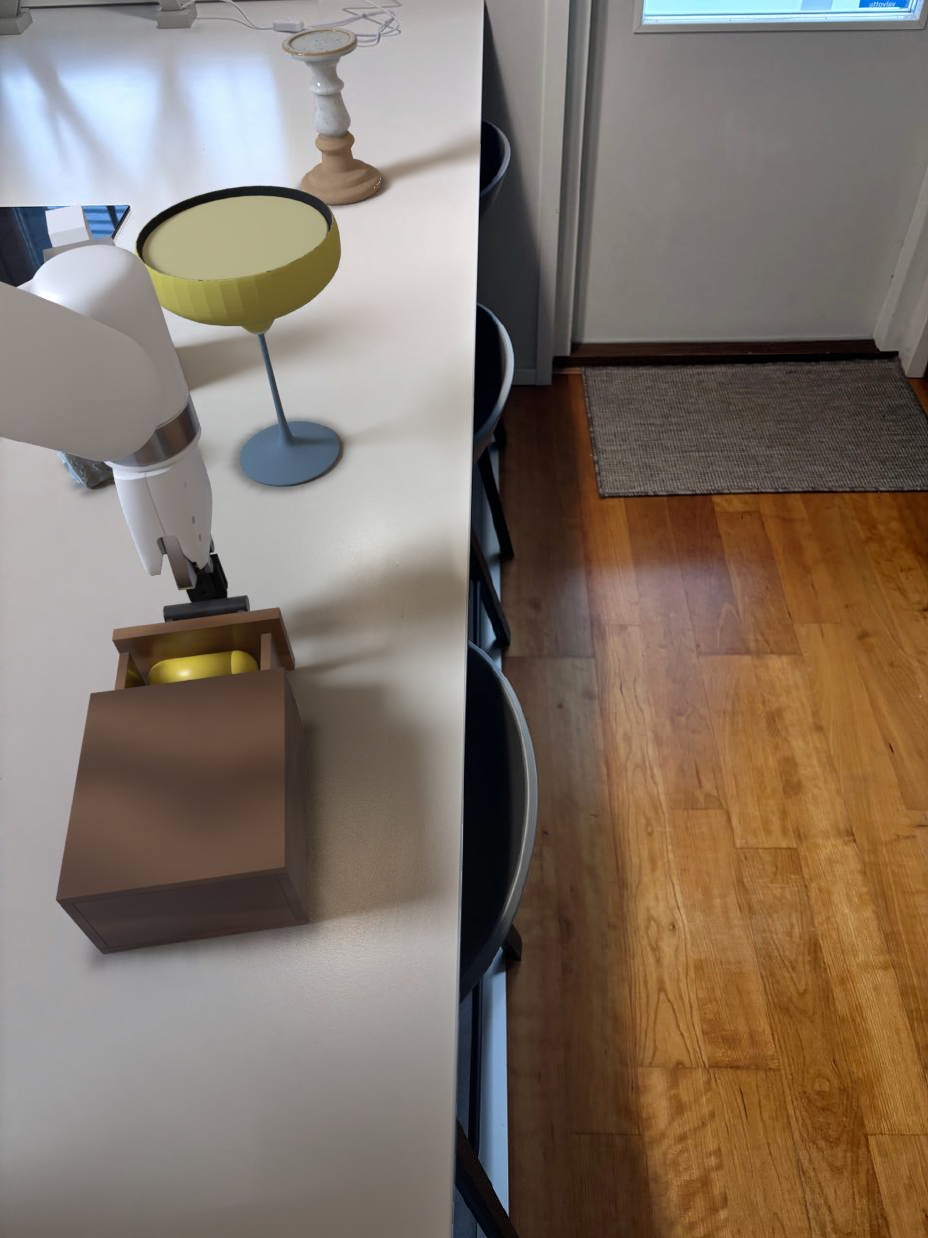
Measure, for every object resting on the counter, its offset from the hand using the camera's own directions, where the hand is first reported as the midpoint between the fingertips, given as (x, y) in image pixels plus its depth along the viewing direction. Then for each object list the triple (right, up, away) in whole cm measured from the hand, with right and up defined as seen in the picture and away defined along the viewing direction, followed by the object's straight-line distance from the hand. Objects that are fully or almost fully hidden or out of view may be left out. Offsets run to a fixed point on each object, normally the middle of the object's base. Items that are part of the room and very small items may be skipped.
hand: (210, 594), depth 83 cm
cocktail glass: (+3, +16, +20) cm, 26 cm away
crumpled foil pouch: (-17, +15, +21) cm, 31 cm away
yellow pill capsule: (+1, -9, -5) cm, 10 cm away
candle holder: (+3, +64, +63) cm, 89 cm away
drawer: (+2, -11, -5) cm, 12 cm away
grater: (-18, +26, +31) cm, 44 cm away
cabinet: (+3, -18, -10) cm, 21 cm away
